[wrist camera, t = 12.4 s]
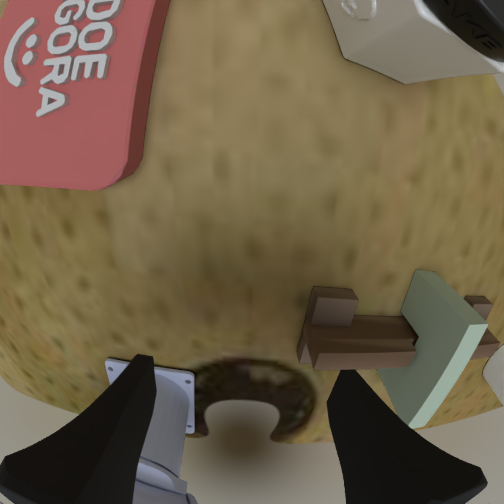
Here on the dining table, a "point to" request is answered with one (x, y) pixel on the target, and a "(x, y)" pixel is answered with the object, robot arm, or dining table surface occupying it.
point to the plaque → (76, 89)
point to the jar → (421, 36)
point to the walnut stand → (366, 334)
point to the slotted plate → (432, 348)
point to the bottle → (496, 373)
